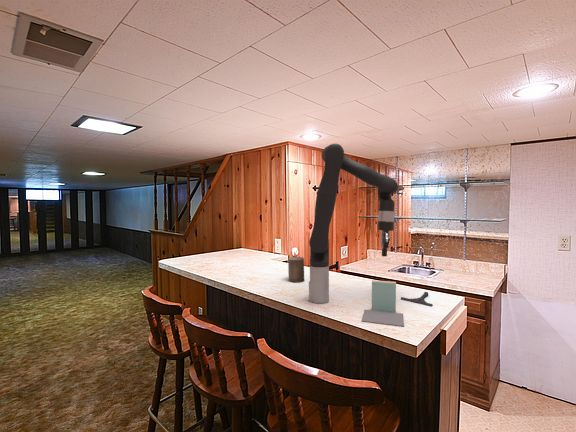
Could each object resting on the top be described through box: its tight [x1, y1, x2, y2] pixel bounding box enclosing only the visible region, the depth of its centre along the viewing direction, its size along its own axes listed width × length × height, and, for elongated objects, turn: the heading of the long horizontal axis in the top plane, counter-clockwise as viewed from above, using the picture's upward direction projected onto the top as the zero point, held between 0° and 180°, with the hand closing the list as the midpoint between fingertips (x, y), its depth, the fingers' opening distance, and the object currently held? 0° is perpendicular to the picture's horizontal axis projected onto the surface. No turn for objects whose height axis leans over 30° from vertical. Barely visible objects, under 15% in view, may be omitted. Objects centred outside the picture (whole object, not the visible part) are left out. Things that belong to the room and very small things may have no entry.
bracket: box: [400, 291, 434, 308], centre depth 147 cm, size 14×15×3 cm
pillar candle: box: [287, 256, 305, 283], centre depth 183 cm, size 10×10×15 cm
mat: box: [361, 309, 405, 328], centre depth 124 cm, size 16×13×1 cm
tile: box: [371, 279, 397, 313], centre depth 132 cm, size 10×2×13 cm, turn 70°
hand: (384, 256), depth 146 cm, fingers closed
